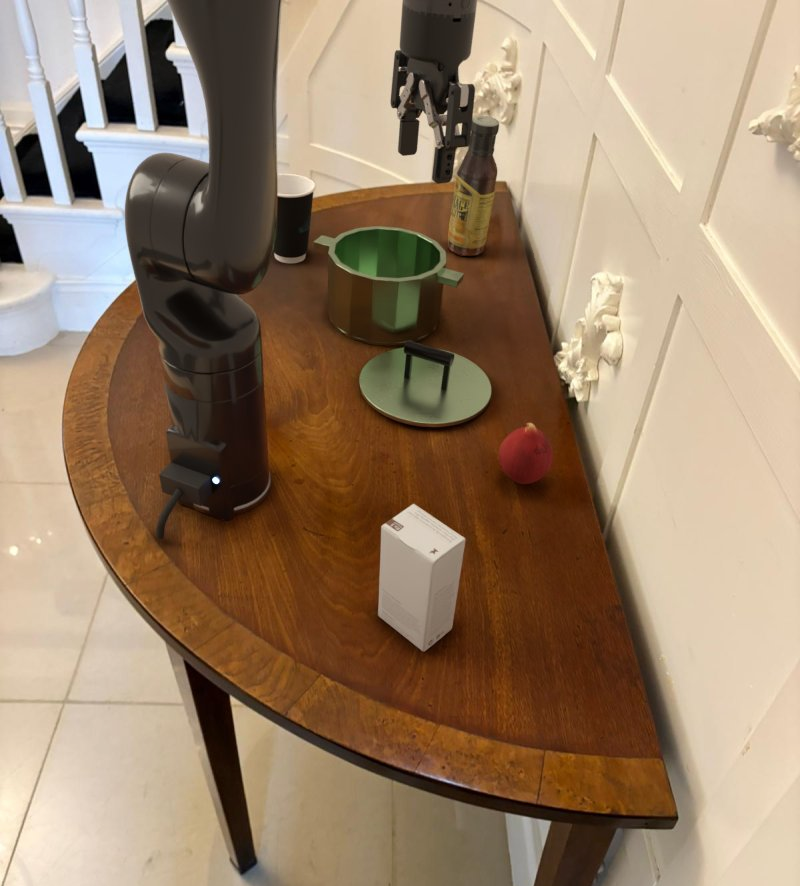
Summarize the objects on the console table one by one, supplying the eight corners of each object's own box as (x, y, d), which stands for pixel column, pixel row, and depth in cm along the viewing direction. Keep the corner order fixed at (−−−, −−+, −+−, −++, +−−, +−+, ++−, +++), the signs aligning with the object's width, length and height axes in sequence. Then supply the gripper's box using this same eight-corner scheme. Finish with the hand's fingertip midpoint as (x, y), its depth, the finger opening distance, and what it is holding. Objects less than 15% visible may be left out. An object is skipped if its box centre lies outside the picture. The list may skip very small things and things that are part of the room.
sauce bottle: (441, 242, 129) (456, 111, 115) (476, 239, 131) (495, 110, 117) (454, 260, 125) (472, 127, 111) (490, 258, 127) (512, 126, 113)
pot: (431, 363, 104) (439, 297, 97) (291, 321, 108) (289, 255, 102) (471, 311, 114) (481, 248, 107) (341, 274, 119) (343, 212, 112)
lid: (463, 447, 92) (471, 403, 87) (336, 405, 96) (337, 361, 91) (507, 376, 103) (515, 334, 98) (391, 342, 107) (394, 300, 102)
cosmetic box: (453, 628, 73) (472, 537, 64) (421, 656, 70) (436, 564, 62) (405, 591, 75) (416, 499, 67) (372, 617, 73) (379, 524, 64)
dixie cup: (261, 245, 124) (257, 173, 116) (311, 243, 125) (310, 172, 118) (267, 269, 118) (264, 196, 111) (319, 267, 120) (319, 194, 112)
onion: (544, 468, 90) (559, 411, 84) (546, 501, 86) (562, 444, 80) (494, 462, 90) (505, 404, 85) (493, 495, 86) (505, 437, 80)
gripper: (375, -14, 82) (368, 148, 94) (441, 21, 74) (424, 195, 85) (438, -15, 85) (423, 143, 96) (508, 18, 76) (483, 188, 88)
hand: (424, 167), depth 91 cm, fingers open, 8 cm apart
